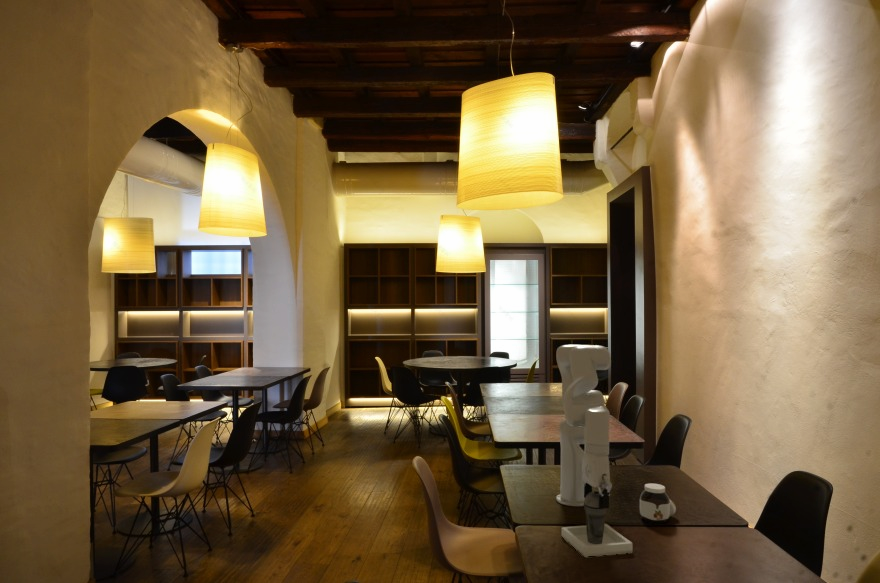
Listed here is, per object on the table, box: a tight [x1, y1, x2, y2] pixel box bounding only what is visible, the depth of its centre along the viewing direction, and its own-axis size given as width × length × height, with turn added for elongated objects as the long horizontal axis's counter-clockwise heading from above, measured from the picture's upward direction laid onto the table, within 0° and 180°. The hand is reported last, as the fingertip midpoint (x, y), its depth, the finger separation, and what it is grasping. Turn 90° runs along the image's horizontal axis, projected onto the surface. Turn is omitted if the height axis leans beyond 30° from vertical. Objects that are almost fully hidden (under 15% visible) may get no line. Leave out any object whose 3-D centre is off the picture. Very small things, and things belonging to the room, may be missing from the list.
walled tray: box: [561, 523, 634, 558], centre depth 188 cm, size 16×16×3 cm
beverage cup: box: [583, 487, 608, 544], centre depth 188 cm, size 7×7×20 cm
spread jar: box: [639, 482, 677, 524], centre depth 212 cm, size 12×11×12 cm
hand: (596, 502), depth 188 cm, fingers open, 9 cm apart
